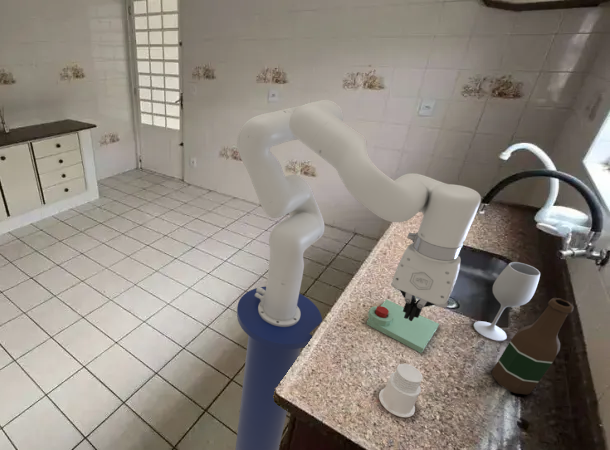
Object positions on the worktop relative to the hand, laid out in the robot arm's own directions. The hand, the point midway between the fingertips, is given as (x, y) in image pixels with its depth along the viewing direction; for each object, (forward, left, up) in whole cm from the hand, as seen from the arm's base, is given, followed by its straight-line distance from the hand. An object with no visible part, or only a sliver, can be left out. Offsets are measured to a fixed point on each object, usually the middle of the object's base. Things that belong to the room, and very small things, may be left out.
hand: (409, 316), depth 78 cm
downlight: (+5, -9, -17) cm, 20 cm away
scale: (-3, +17, -17) cm, 24 cm away
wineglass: (+14, +33, -17) cm, 40 cm away
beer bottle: (+21, +17, -17) cm, 32 cm away
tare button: (-8, +14, -13) cm, 21 cm away
